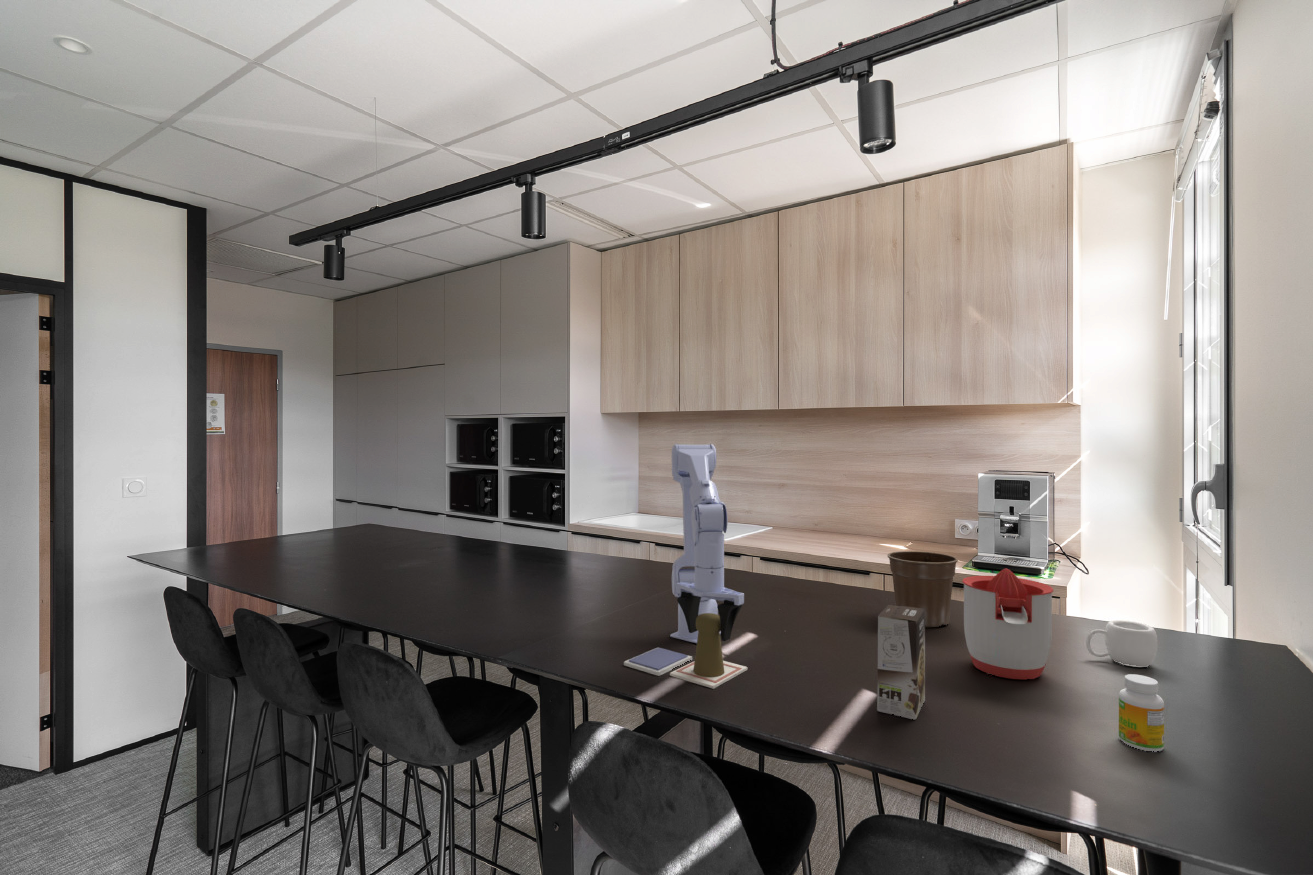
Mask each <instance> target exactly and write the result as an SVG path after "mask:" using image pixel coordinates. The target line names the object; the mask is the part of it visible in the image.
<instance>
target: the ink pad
mask: <svg viewBox="0 0 1313 875" xmlns="http://www.w3.org/2000/svg"><path fill="white" fill-rule="evenodd" d="M690 660H691V661H693V656H692V655H688V654H684V653H680V652H676V651H674V650H673V651H672V650H669V649H666V648H662V647H656V648H653V649H651V650H648V651H645V652H643V653H642V654H639V655H637V656H634V657H632V658H630V659H627V660H625V661H623V666H625V667H629V668H632V669H635V670H638V671H641V672H644V673H647V674H652V675H654V676H657V677H660V676H661V675H662V676H663V675H664V674H667V673H668V672H670V671H672V669H673V668H675V667H677V666H679V667H680V665H681V666H683V665H685V664H686V663H685V662H687V661H689V662H691V661H690ZM684 663H685V664H684ZM687 663H688V662H687ZM682 664H683V665H682ZM677 668H678V667H677ZM675 669H676V668H675ZM673 670H674V669H673Z"/></svg>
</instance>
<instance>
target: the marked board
mask: <svg viewBox="0 0 1313 875" xmlns="http://www.w3.org/2000/svg"><path fill="white" fill-rule="evenodd" d="M694 662H695V660H694V661H692V662H690V663H687V664H686V665H685V664H684V666H683V665H682V666H681V667H680V668H679V667H678V669H677V668H676V669H675V670H673V671H671V672H669V676H671V677H673V678H677V679H680V680H684V681H686V682H689V683H693V684H697V685H700V686H703V687H707V688H710V689H713V690H714V689H716V688H717V687H719V686H720V685H723V684H725V683H726V682H728V681H730V680H732V679H733V678H735V677H737V676H739V675H740V674H742V673H744V672H745V671H748V667H747V666H745V665H740V664H737V663H733V662H730V661H726V660H723V664H724V672H725V673H724V674H723V675H721V676H718V677H702V676H698V675H696V674H695V673H694V672H693V669H694Z"/></svg>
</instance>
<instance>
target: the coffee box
mask: <svg viewBox="0 0 1313 875" xmlns="http://www.w3.org/2000/svg"><path fill="white" fill-rule="evenodd" d="M876 662H877V665H876V666H877V667H876V668H877V675H876V677H877V680H876V682H877V689H876V690H877V691H876V692H877V693H876V694H877V695H876V696H877V697H876V702H877V703H876V704H877V705H876V711H877V712H880V713H885V714H888V715H892V714H894V715H893V716H897V717H900V716H901V717H900V718H906V719H910V720H912V719H913V720H917V718H918V717H919V714H920V711H921V710H922V708H923V705H924V704H923V703H925V702H926V627H925V609H921V608H914V607H905V606H895V605H893V604H887V606H886V607H885V608H883V610H882V611H880V612H879V614H878V615H877V661H876ZM921 707H922V708H921Z"/></svg>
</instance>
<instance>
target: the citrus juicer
mask: <svg viewBox="0 0 1313 875" xmlns="http://www.w3.org/2000/svg"><path fill="white" fill-rule="evenodd" d="M961 583H963V628H964V631H963V632H964V637H965V641H966V642H965V643H966V646H967V649H968V650H967V651H968V654H969V657H970V659H971V662H972V664H973V666H974V667H975V668H976V669H978V670H980V671H981V672H984V673H985V672H986V673H989V674H992V675H995V676H994V677H996V676H997V677H1000V678H1004V679H1005V678H1006V679H1010V680H1011V679H1012V680H1027V679H1033V680H1034V679H1036V678H1040V676H1041V675H1042V673H1043V672H1044V669H1045V667H1046V664H1047V660H1048V657H1049V656H1050V655H1049V654H1050V650H1051V645H1052V633H1053V632H1052V631H1053V629H1052V628H1053V627H1052V626H1053V625H1052V624H1053V623H1052V622H1053V621H1052V620H1053V619H1052V618H1053V616H1052V615H1053V614H1052V610H1053V608H1052V607H1053V604H1052V602H1053V592H1054V589H1053V587H1052V586H1050V585H1048V584H1046V583H1043V582H1039V581H1035V580H1032V579H1031V580H1030V579H1027V578H1026V579H1025V578H1020V577H1018V576H1017V575H1016V574H1015V573H1014V572H1013V571H1011V569H1010V568H1009V569H1008V568H1003V569H1001V570H1000V571H999V572H998V573H997V574H996V575H972V576H967V577H965V578H963V579H962V582H961ZM986 673H985V674H986ZM992 675H991V676H992Z"/></svg>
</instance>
